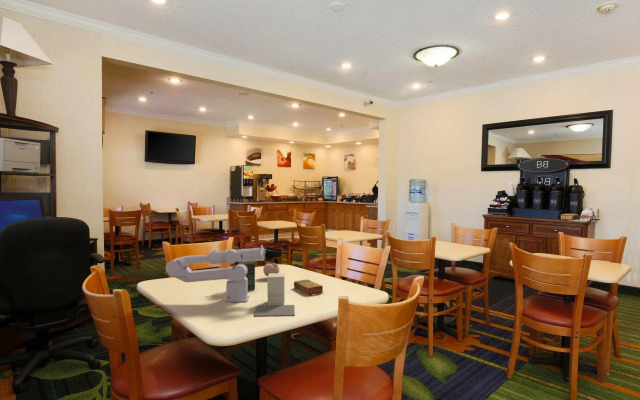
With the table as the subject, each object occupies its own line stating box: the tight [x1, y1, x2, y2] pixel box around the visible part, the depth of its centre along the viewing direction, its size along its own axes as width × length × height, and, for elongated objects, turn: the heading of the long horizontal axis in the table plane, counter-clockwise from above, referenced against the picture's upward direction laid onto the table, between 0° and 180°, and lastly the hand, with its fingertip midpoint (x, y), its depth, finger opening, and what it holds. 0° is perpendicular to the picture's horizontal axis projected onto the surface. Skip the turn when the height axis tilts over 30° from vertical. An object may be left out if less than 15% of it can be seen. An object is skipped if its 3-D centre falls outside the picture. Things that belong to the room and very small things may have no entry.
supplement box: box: [266, 272, 286, 305], centre depth 161 cm, size 7×7×13 cm
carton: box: [293, 279, 324, 296], centre depth 182 cm, size 8×16×4 cm, turn 30°
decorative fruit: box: [263, 260, 280, 278], centre depth 207 cm, size 9×8×10 cm
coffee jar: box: [237, 261, 256, 292], centre depth 183 cm, size 10×8×19 cm
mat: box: [253, 304, 296, 317], centre depth 150 cm, size 16×13×1 cm
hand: (281, 252), depth 167 cm, fingers open, 7 cm apart
